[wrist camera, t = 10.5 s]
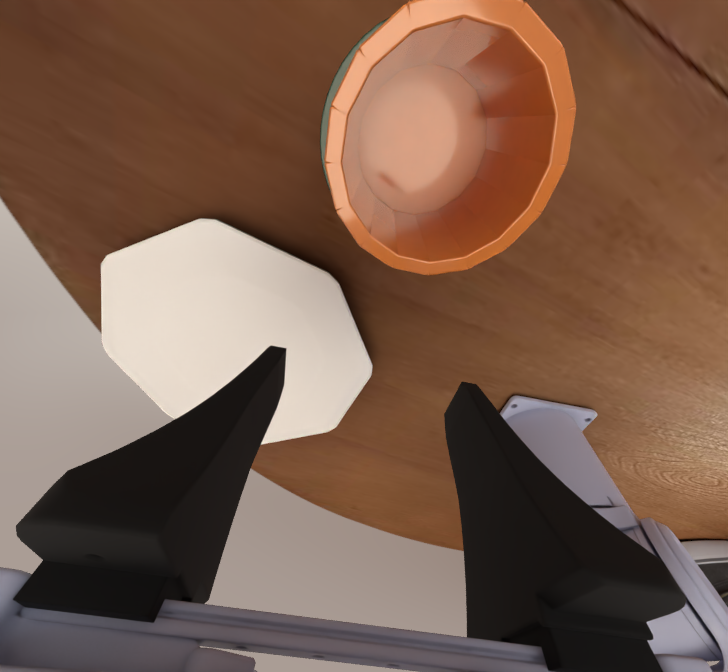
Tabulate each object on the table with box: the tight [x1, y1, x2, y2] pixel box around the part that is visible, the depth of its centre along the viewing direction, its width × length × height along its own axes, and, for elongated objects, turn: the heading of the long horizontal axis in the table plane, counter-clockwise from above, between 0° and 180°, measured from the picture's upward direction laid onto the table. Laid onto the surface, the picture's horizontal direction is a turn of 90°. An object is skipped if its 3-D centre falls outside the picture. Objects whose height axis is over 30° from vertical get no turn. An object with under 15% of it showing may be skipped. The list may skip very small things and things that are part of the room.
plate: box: [101, 218, 373, 444], centre depth 24 cm, size 20×20×2 cm
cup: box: [324, 0, 576, 275], centre depth 9 cm, size 5×5×6 cm
